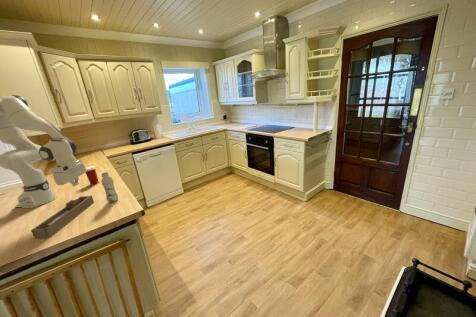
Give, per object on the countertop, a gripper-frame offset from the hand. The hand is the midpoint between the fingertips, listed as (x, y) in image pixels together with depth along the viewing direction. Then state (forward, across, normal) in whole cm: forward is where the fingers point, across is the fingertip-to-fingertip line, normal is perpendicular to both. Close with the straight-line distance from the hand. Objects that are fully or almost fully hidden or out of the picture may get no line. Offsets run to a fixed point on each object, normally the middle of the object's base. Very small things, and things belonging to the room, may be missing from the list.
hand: (76, 185), depth 126 cm
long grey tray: (+15, +13, -1) cm, 20 cm away
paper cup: (+15, -38, -19) cm, 45 cm away
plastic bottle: (+16, -5, +16) cm, 23 cm away
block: (+12, +6, 0) cm, 14 cm away
